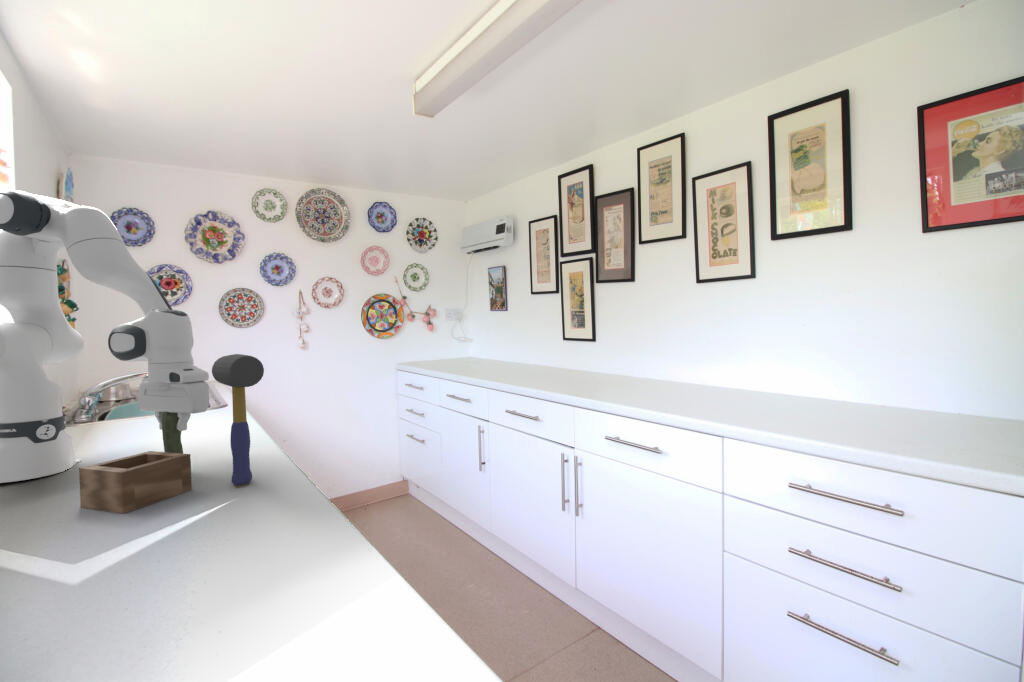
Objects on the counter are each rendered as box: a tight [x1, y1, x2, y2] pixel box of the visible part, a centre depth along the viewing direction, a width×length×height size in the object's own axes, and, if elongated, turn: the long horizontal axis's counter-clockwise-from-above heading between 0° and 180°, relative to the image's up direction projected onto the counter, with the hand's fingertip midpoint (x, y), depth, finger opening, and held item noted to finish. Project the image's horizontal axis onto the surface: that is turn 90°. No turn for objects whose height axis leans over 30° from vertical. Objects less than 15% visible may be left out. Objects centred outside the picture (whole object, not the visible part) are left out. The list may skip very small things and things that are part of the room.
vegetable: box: [161, 411, 184, 454], centre depth 106 cm, size 4×4×20 cm
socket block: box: [78, 450, 193, 514], centre depth 91 cm, size 13×13×8 cm
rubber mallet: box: [211, 353, 265, 488], centre depth 97 cm, size 12×8×30 cm, turn 51°
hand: (173, 429), depth 106 cm, fingers closed on vegetable, 4 cm apart
